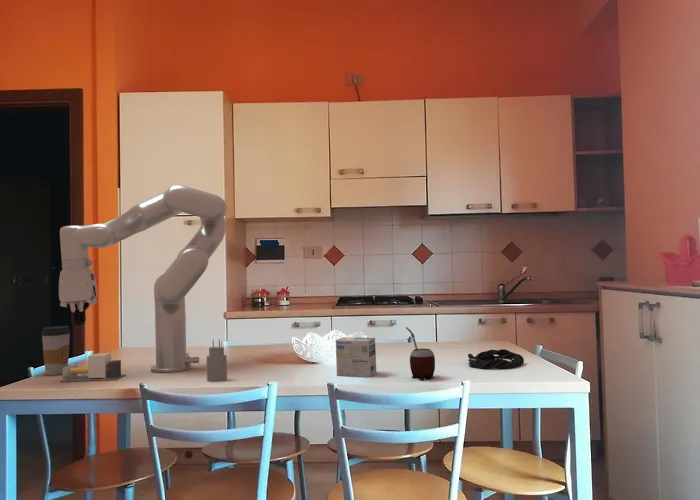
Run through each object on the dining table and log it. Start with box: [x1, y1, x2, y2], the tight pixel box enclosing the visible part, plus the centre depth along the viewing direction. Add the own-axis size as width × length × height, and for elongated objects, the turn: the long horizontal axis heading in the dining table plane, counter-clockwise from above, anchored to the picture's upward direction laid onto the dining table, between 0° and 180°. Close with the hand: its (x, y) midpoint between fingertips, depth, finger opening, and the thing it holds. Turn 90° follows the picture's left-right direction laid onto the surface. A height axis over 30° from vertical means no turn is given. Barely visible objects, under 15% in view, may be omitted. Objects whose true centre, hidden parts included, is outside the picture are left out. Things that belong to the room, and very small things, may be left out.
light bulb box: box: [335, 336, 377, 378], centre depth 160 cm, size 11×7×11 cm, turn 71°
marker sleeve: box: [87, 352, 112, 378], centre depth 165 cm, size 5×5×7 cm
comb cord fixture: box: [59, 359, 127, 383], centre depth 165 cm, size 17×7×5 cm, turn 92°
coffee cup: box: [41, 325, 71, 376], centre depth 175 cm, size 8×8×15 cm
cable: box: [467, 348, 525, 370], centre depth 168 cm, size 17×14×4 cm
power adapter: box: [206, 339, 228, 383], centre depth 158 cm, size 3×5×12 cm, turn 86°
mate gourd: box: [405, 326, 436, 382], centre depth 152 cm, size 8×8×15 cm
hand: (80, 324), depth 167 cm, fingers closed
